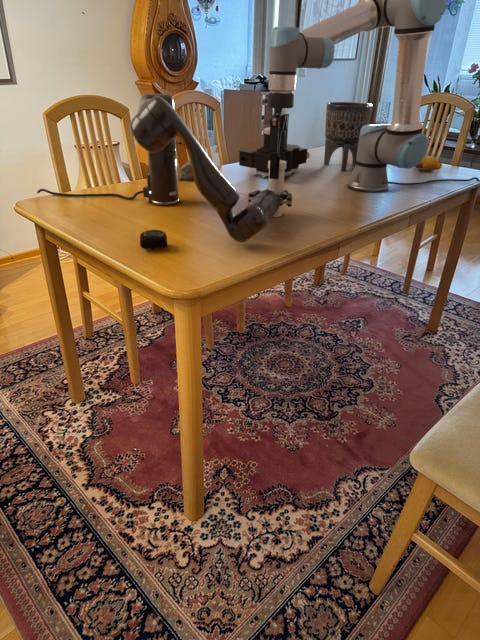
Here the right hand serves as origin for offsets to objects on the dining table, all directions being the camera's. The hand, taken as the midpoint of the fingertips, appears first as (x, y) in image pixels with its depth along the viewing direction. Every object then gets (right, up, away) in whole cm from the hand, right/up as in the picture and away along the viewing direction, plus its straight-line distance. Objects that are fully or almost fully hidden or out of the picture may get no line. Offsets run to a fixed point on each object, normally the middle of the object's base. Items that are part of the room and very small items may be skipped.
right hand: (276, 176), depth 139 cm
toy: (+75, +25, +70) cm, 105 cm away
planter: (+36, +27, +72) cm, 85 cm away
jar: (0, -10, +6) cm, 12 cm away
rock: (-30, +14, +46) cm, 56 cm away
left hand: (+1, -4, +5) cm, 6 cm away
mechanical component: (+6, +19, +57) cm, 61 cm away
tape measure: (-33, -26, -21) cm, 47 cm away
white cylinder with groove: (0, +3, -2) cm, 4 cm away
